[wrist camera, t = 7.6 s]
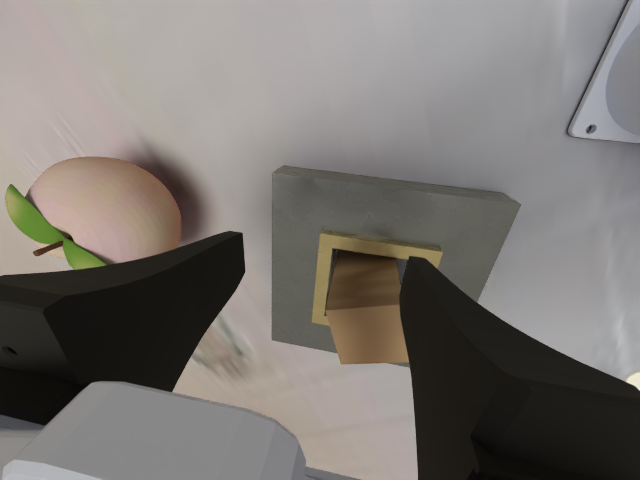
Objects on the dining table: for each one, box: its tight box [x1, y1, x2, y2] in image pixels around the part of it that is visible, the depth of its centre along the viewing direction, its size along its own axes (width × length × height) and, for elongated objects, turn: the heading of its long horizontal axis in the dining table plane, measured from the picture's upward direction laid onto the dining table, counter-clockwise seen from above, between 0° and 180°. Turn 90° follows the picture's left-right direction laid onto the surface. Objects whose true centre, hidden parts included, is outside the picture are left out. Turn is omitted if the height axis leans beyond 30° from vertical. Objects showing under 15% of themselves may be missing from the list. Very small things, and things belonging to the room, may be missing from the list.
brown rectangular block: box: [325, 249, 409, 364], centre depth 20 cm, size 4×4×8 cm
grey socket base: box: [272, 166, 521, 367], centre depth 22 cm, size 16×16×3 cm
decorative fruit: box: [5, 157, 182, 270], centre depth 19 cm, size 9×8×10 cm
